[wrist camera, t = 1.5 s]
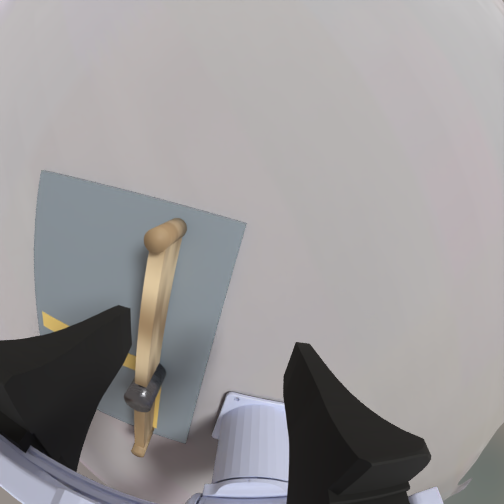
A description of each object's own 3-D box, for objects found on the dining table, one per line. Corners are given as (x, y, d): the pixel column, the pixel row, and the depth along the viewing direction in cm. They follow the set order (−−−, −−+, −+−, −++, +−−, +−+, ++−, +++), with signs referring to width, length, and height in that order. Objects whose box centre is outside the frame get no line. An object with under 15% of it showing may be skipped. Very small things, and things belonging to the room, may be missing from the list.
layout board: (246, 223, 19) (246, 224, 18) (186, 440, 26) (185, 444, 25) (44, 170, 18) (40, 170, 18) (51, 381, 25) (49, 383, 24)
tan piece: (161, 363, 21) (145, 394, 17) (147, 357, 21) (129, 387, 17) (188, 220, 18) (169, 232, 14) (170, 215, 18) (146, 225, 14)
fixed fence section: (158, 385, 22) (144, 415, 18) (154, 432, 24) (143, 458, 20) (145, 380, 22) (129, 409, 18) (142, 427, 24) (131, 453, 20)
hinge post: (167, 365, 22) (151, 398, 18) (164, 383, 22) (150, 416, 18) (142, 356, 22) (123, 387, 17) (141, 374, 22) (123, 405, 18)
